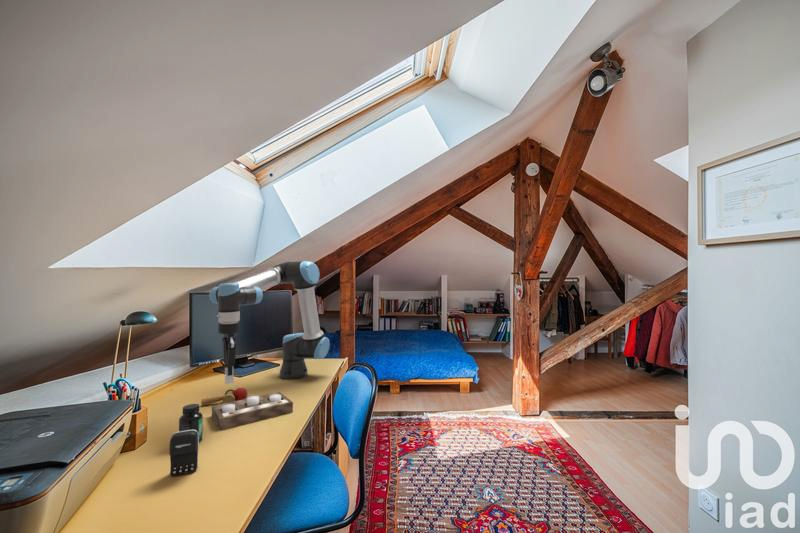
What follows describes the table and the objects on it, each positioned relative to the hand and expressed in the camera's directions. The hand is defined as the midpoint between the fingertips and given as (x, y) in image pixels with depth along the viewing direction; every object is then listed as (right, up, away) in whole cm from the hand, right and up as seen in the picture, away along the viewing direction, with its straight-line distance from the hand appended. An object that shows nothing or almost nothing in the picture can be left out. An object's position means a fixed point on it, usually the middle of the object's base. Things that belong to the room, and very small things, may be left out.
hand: (229, 383), depth 135 cm
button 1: (0, -13, -1) cm, 13 cm away
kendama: (-10, -15, +17) cm, 25 cm away
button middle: (+7, -12, +5) cm, 15 cm away
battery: (+5, -13, -37) cm, 40 cm away
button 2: (+14, -14, +10) cm, 22 cm away
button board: (+7, -14, +5) cm, 17 cm away
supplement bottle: (-4, -14, -19) cm, 24 cm away
